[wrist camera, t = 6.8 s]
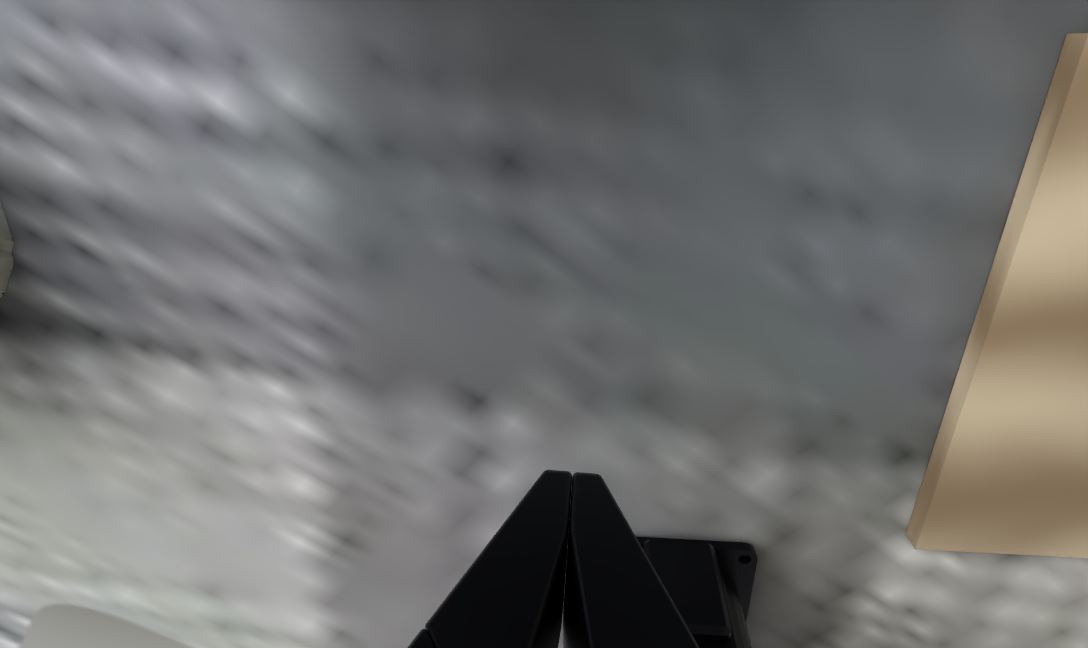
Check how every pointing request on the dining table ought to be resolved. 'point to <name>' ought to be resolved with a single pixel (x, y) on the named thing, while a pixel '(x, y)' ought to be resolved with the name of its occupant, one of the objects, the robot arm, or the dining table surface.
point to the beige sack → (5, 252)
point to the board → (1025, 362)
